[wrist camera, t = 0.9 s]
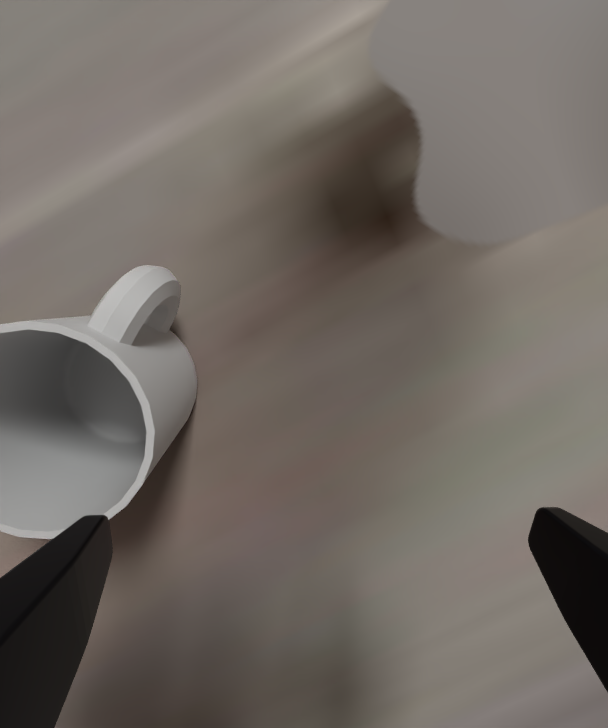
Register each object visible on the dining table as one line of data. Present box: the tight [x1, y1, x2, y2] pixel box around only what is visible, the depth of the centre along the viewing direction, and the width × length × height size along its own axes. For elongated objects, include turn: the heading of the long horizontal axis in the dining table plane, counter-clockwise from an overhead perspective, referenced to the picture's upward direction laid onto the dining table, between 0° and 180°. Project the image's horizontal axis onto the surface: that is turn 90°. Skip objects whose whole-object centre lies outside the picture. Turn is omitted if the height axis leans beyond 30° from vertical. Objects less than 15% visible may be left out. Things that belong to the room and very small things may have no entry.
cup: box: [0, 265, 198, 539], centre depth 18 cm, size 7×10×9 cm
